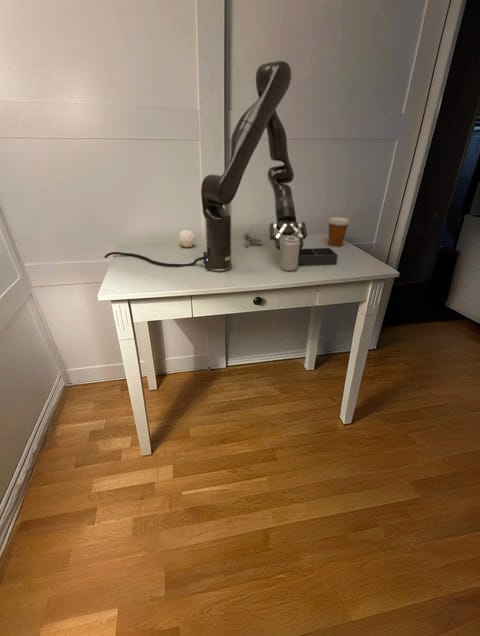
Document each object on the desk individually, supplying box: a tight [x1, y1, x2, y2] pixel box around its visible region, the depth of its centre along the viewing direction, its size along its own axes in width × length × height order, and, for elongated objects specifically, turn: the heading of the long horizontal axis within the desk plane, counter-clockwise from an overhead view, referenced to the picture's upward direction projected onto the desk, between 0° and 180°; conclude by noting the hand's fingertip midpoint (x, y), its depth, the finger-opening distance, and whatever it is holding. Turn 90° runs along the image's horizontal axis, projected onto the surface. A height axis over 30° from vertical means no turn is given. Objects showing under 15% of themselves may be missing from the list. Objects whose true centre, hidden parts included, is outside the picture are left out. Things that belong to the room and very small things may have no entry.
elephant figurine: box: [243, 228, 263, 248], centre depth 146 cm, size 10×6×9 cm
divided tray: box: [297, 247, 338, 267], centre depth 128 cm, size 17×9×4 cm, turn 97°
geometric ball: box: [177, 229, 197, 248], centre depth 142 cm, size 8×8×8 cm
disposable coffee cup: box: [327, 216, 351, 247], centre depth 146 cm, size 10×10×12 cm
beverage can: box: [280, 236, 300, 272], centre depth 119 cm, size 6×6×12 cm
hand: (290, 248), depth 119 cm, fingers open, 8 cm apart
